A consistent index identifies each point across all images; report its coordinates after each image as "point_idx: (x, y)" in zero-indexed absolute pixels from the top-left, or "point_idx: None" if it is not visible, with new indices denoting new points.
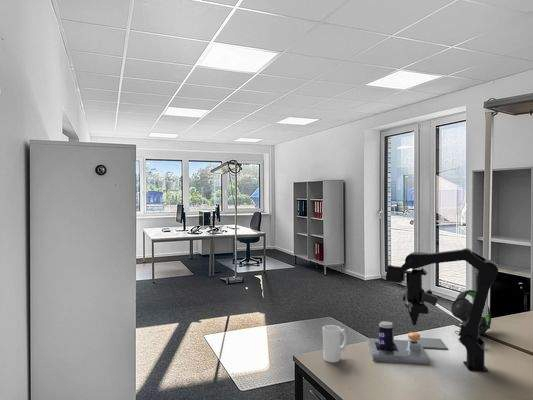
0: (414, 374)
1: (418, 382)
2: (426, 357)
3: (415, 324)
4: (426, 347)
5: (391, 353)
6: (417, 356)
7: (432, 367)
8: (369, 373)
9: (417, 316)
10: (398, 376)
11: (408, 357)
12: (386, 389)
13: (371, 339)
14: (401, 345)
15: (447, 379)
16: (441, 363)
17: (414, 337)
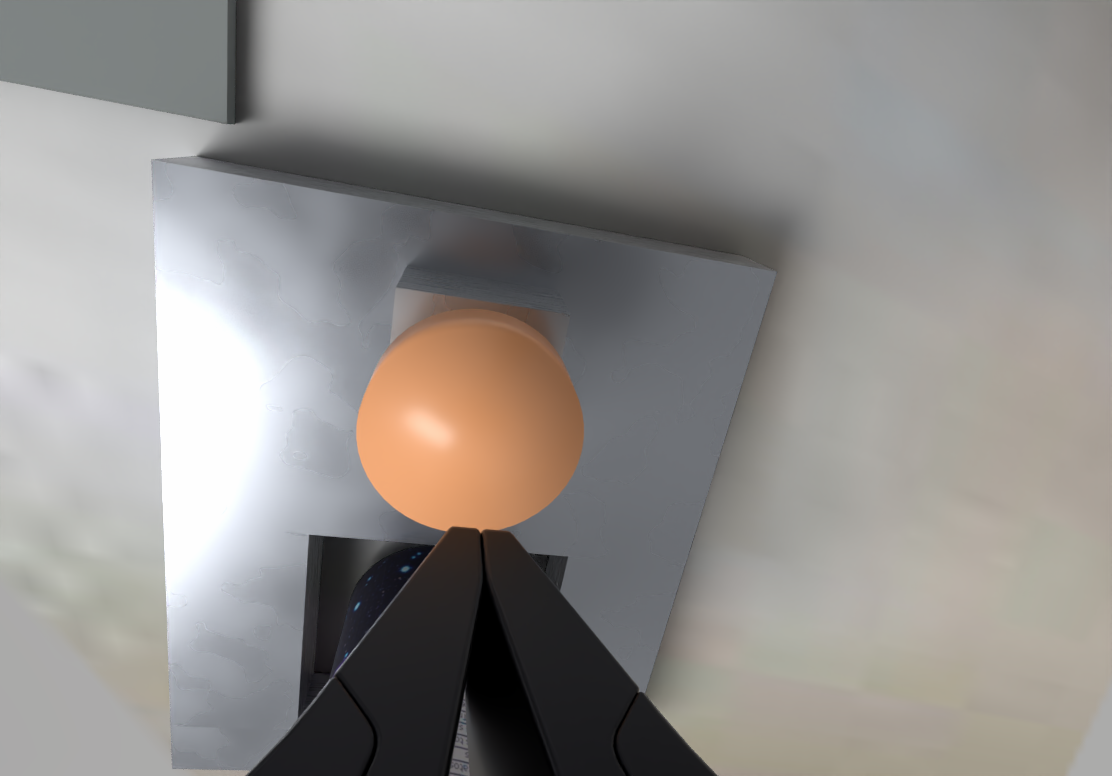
0: (902, 476)
1: (1028, 490)
2: (766, 299)
3: (512, 548)
4: (229, 46)
5: (613, 633)
6: (722, 397)
7: (813, 246)
8: (808, 766)
9: (673, 764)
10: (899, 602)
11: (702, 487)
12: (1034, 708)
13: (209, 747)
14: None
15: (1074, 212)
16: (738, 77)
17: (574, 454)
